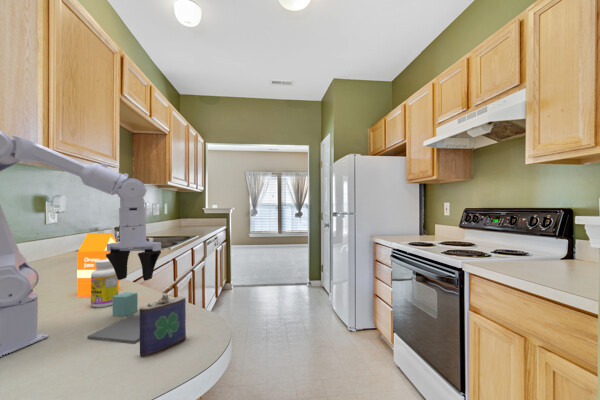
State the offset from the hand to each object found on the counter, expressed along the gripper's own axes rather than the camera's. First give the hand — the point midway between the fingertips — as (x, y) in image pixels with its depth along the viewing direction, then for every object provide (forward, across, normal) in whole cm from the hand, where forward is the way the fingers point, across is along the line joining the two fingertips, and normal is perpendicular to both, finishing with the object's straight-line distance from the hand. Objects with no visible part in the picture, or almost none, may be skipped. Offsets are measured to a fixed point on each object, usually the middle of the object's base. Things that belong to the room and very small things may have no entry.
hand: (134, 279), depth 70 cm
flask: (+10, -17, +11) cm, 23 cm away
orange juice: (+10, +30, -17) cm, 36 cm away
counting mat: (+10, -4, +5) cm, 12 cm away
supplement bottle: (+10, +18, -8) cm, 22 cm away
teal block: (+10, +6, -3) cm, 12 cm away
